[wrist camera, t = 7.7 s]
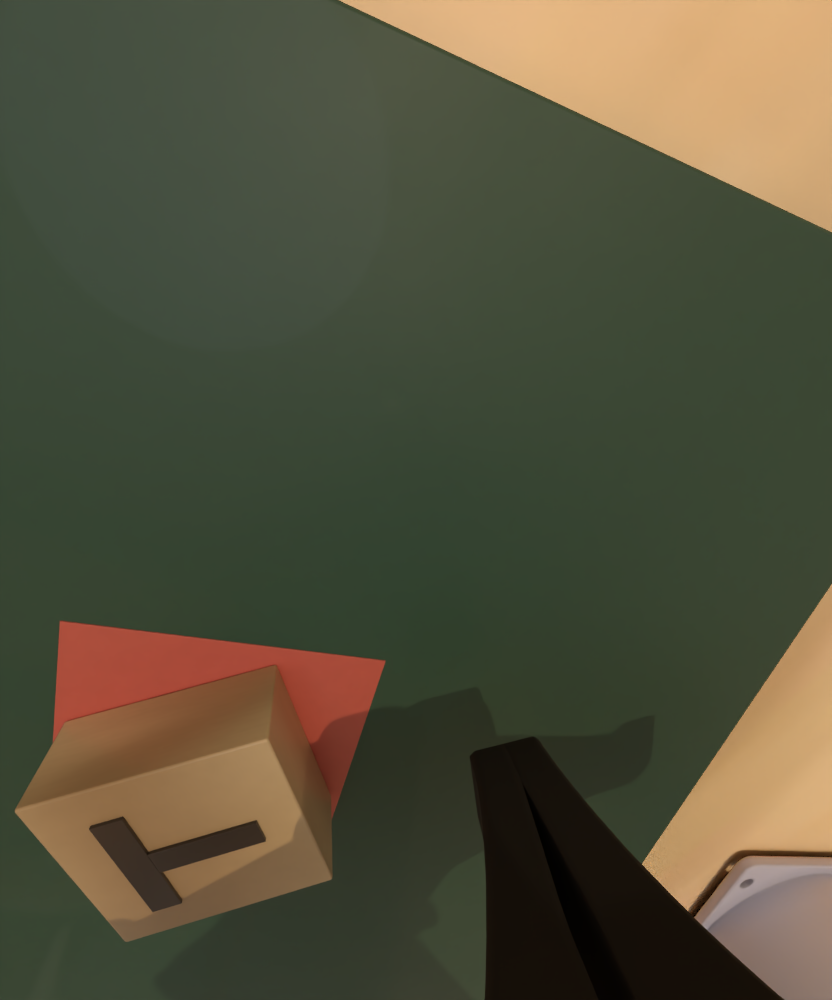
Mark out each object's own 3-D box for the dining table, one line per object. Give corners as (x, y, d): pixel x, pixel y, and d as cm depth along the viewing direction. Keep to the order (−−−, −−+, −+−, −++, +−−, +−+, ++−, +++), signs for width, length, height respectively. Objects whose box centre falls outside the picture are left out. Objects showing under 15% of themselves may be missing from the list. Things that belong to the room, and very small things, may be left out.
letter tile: (276, 662, 11) (267, 742, 9) (331, 795, 13) (333, 884, 11) (64, 720, 11) (9, 815, 9) (153, 848, 13) (123, 948, 11)
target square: (321, 847, 14) (321, 851, 14) (48, 841, 12) (46, 846, 12) (385, 658, 12) (385, 661, 11) (61, 618, 10) (59, 621, 10)
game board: (539, 978, 20) (547, 1004, 20) (-330, 1027, 13) (-366, 1070, 13) (971, 314, 11) (1016, 316, 11) (-971, -577, 4) (-1223, -742, 4)
